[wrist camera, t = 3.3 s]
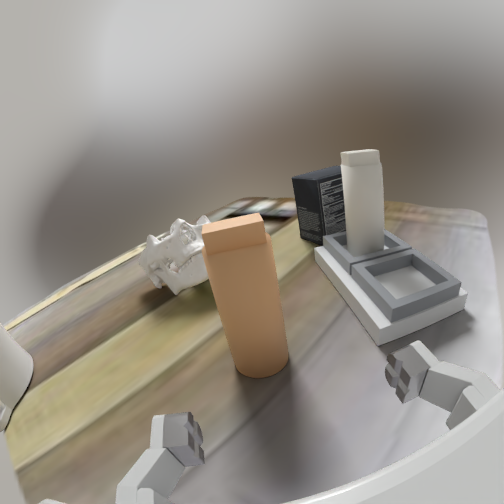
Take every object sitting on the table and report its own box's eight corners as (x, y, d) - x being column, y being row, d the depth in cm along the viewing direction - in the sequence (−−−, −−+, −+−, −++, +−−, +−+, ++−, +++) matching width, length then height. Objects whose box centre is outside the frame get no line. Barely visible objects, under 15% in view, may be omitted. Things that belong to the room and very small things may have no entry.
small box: (340, 219, 52) (335, 164, 47) (367, 226, 46) (364, 166, 42) (298, 237, 47) (289, 175, 43) (325, 247, 42) (318, 178, 38)
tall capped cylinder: (294, 370, 22) (273, 226, 17) (237, 383, 22) (193, 243, 17) (282, 335, 26) (261, 206, 21) (232, 345, 26) (198, 220, 21)
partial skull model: (166, 297, 30) (134, 231, 33) (166, 320, 37) (138, 264, 40) (254, 258, 36) (216, 202, 39) (237, 285, 43) (207, 236, 46)
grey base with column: (463, 309, 23) (482, 164, 17) (377, 346, 22) (383, 174, 16) (383, 244, 39) (379, 145, 33) (315, 261, 39) (302, 154, 33)
